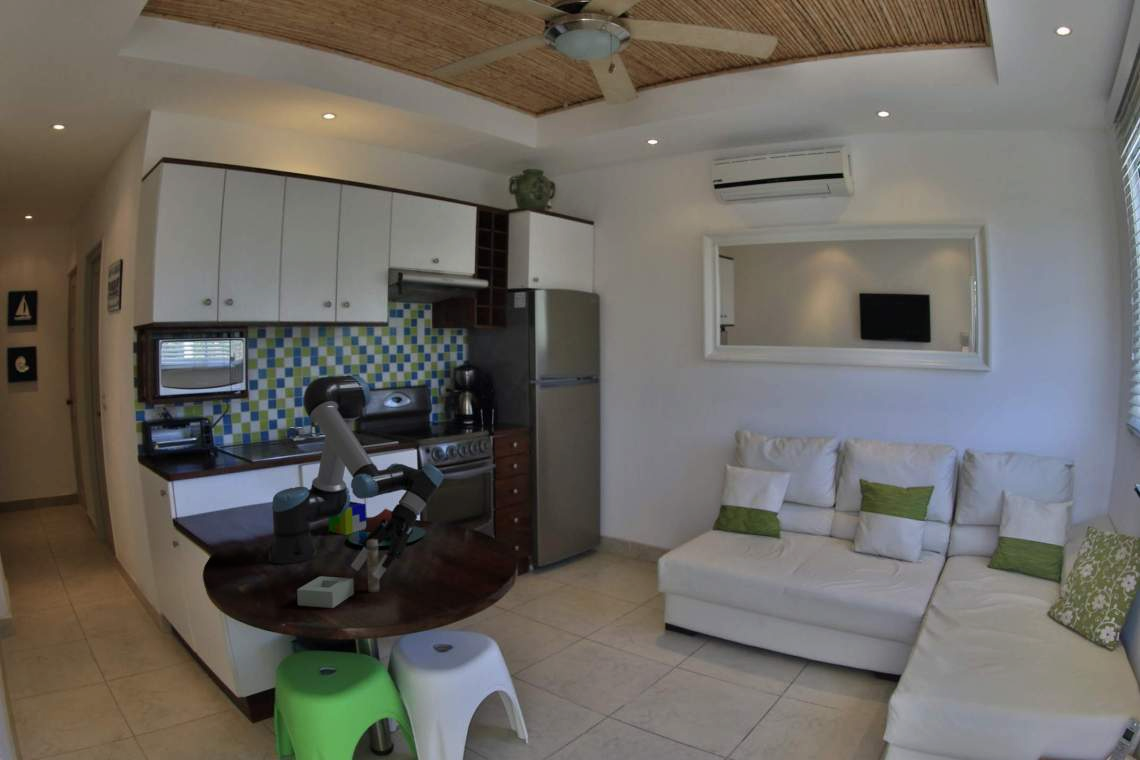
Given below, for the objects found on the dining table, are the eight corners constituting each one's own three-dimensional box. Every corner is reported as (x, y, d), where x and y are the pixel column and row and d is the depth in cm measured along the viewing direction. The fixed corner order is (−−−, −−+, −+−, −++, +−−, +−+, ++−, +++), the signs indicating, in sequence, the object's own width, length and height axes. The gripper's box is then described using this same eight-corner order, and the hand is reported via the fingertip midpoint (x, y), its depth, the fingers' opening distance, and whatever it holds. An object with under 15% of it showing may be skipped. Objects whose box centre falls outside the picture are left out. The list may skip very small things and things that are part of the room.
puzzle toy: (366, 528, 270) (365, 504, 269) (345, 535, 261) (345, 509, 261) (349, 525, 275) (348, 501, 275) (329, 531, 267) (328, 506, 266)
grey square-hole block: (297, 605, 190) (297, 589, 190) (320, 591, 201) (319, 576, 201) (332, 608, 188) (332, 592, 188) (353, 593, 199) (353, 578, 198)
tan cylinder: (365, 592, 200) (364, 542, 199) (371, 588, 203) (370, 538, 202) (376, 592, 199) (374, 542, 198) (381, 588, 202) (380, 539, 201)
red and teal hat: (352, 554, 236) (351, 523, 236) (345, 534, 262) (344, 506, 261) (432, 544, 247) (431, 514, 247) (417, 525, 273) (417, 498, 272)
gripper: (438, 522, 204) (395, 587, 193) (394, 511, 219) (352, 570, 208) (423, 508, 199) (378, 574, 189) (379, 497, 215) (335, 558, 204)
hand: (364, 572), depth 199 cm, fingers open, 11 cm apart
